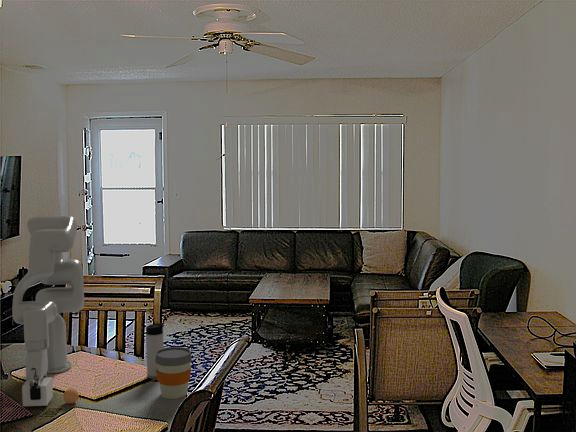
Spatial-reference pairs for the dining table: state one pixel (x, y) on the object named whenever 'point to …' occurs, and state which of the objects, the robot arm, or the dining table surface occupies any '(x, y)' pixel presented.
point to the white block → (45, 391)
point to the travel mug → (153, 347)
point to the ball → (71, 396)
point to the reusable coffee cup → (173, 371)
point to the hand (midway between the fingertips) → (39, 394)
